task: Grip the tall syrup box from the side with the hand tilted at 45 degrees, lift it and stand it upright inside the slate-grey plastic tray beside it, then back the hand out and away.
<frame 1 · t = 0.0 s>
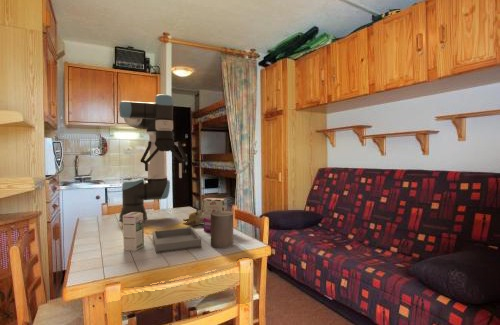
hand: (165, 178, 125), 28 cm above the table, fingers open, 13 cm apart
pillar candle: (222, 245, 120), on the table
tray: (175, 242, 122), on the table
syrup box: (133, 248, 116), on the table
ceramic sculpture: (196, 225, 153), on the table
candy bar box: (215, 231, 141), on the table
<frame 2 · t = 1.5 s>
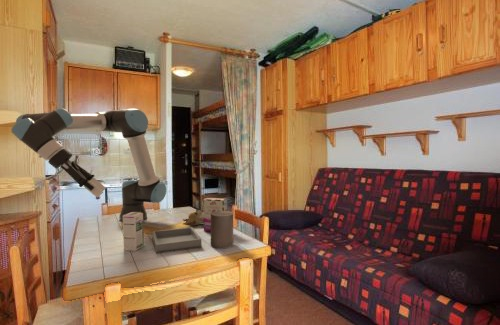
hand: (102, 192, 110), 24 cm above the table, fingers open, 13 cm apart
nothing on the table moved.
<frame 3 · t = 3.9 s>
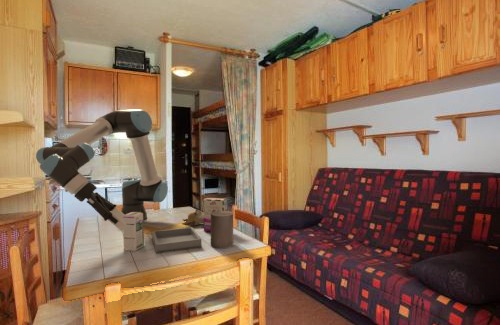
hand: (124, 223, 113), 11 cm above the table, fingers open, 13 cm apart
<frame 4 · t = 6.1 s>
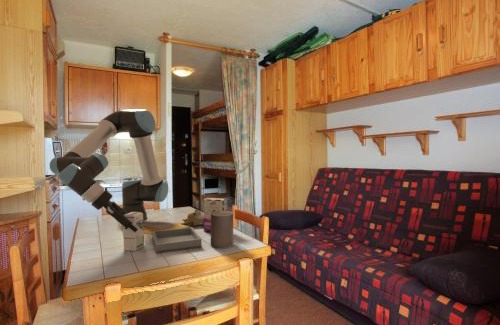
hand: (142, 232, 117), 6 cm above the table, fingers closed on syrup box, 7 cm apart
syrup box: (133, 248, 116), on the table, touching gripper
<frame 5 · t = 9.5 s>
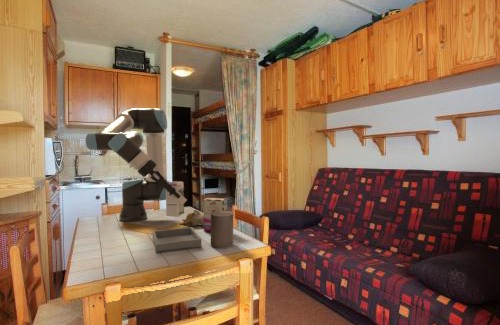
hand: (183, 200, 123), 18 cm above the table, fingers closed on syrup box, 7 cm apart
syrup box: (175, 215, 122), point 12 cm above the table, touching gripper
when the fingers open (8 cm above the table, at t = 12.7 s): syrup box stays where it is, resting on tray.
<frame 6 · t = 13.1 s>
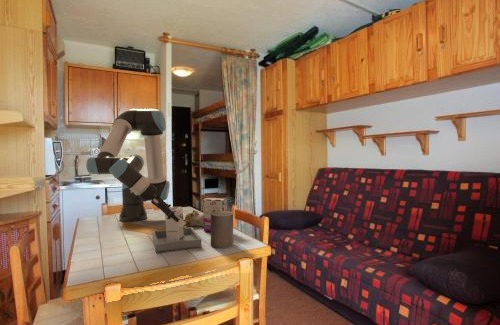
hand: (181, 221, 123), 9 cm above the table, fingers open, 13 cm apart
syrup box: (175, 241, 122), point 1 cm above the table, touching tray
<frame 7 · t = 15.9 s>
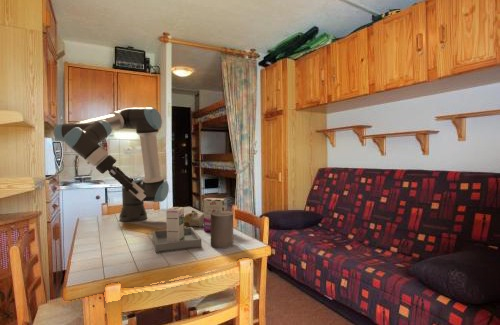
hand: (143, 195, 118), 21 cm above the table, fingers open, 13 cm apart
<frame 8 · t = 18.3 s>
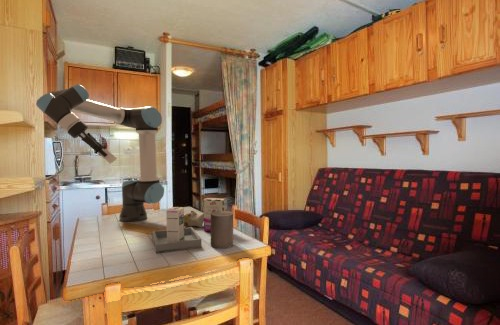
hand: (113, 161, 125), 36 cm above the table, fingers open, 13 cm apart
at the end: syrup box inside the target area on the tray (0.1 cm from its centre), point 0.6 cm above the tray's base; syrup box tilted 0°; the gripper is holding nothing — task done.
